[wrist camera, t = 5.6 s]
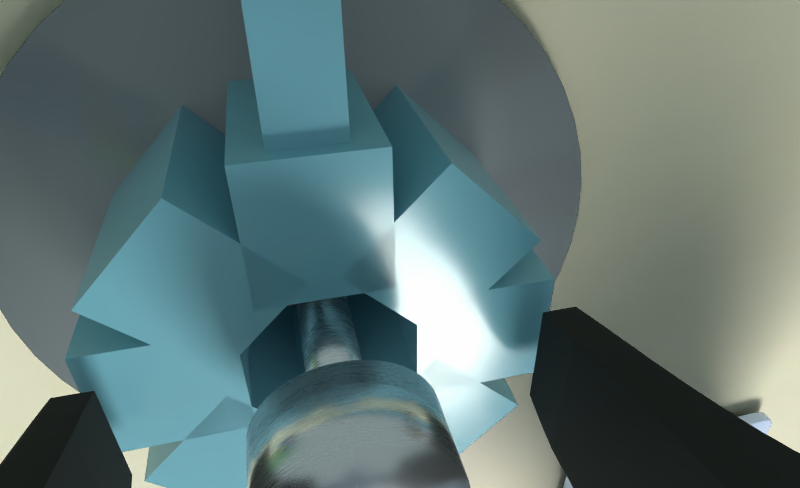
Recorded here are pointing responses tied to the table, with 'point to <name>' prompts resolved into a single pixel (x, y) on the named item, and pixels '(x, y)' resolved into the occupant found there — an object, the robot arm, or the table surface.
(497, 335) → the blue block ring base
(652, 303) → the table surface
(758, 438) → the robot arm
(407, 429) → the plunger
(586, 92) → the table surface
